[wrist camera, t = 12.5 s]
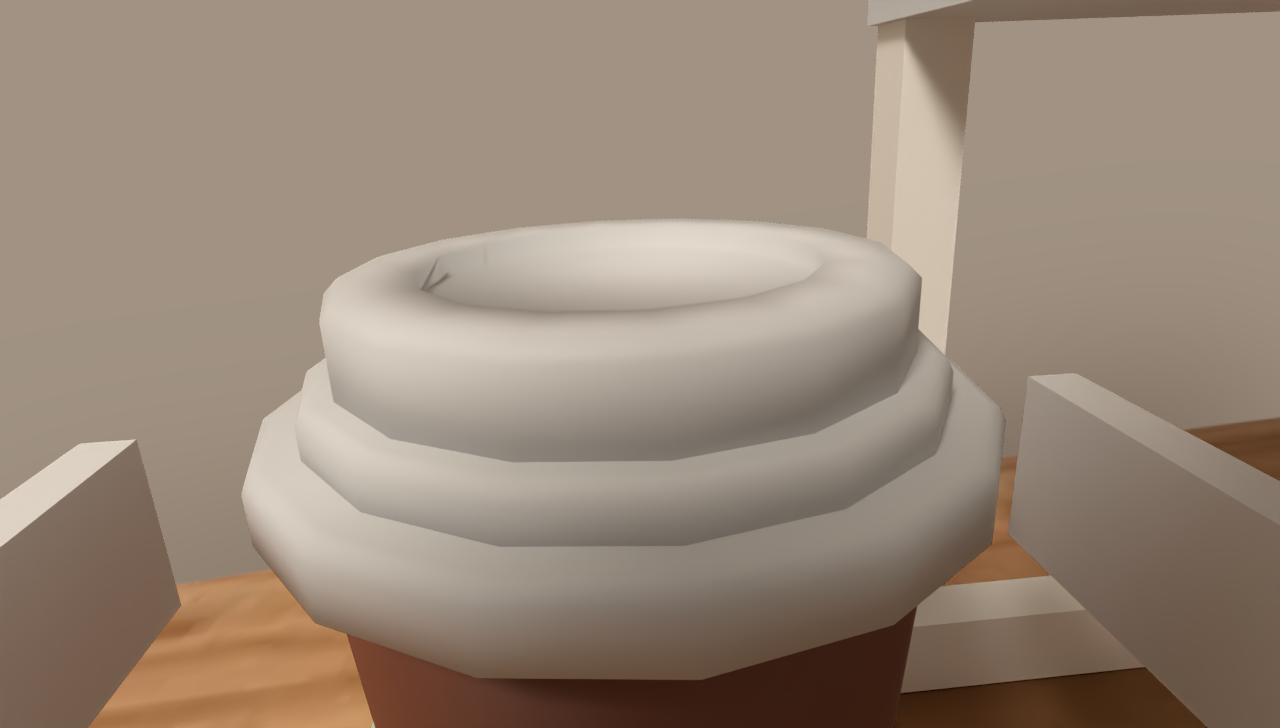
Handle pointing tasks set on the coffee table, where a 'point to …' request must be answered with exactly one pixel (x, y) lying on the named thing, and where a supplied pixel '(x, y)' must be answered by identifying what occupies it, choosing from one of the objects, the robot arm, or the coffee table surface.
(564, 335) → the coffee cup
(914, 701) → the coffee table surface
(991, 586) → the white stool
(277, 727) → the coffee table surface
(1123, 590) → the robot arm
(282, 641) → the coffee table surface
